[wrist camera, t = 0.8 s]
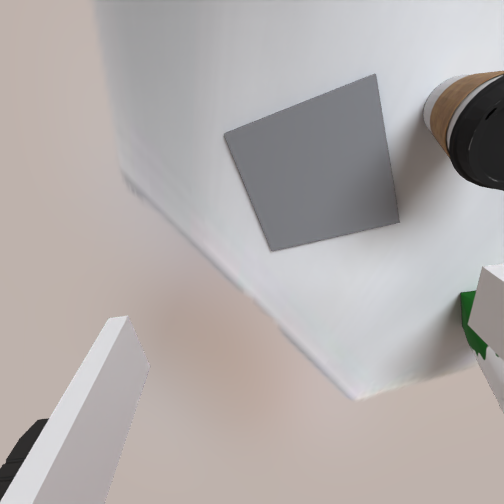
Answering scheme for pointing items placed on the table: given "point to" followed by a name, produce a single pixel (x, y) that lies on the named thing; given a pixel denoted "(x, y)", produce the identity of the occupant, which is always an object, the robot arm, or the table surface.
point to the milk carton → (483, 351)
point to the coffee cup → (471, 125)
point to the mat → (319, 167)
